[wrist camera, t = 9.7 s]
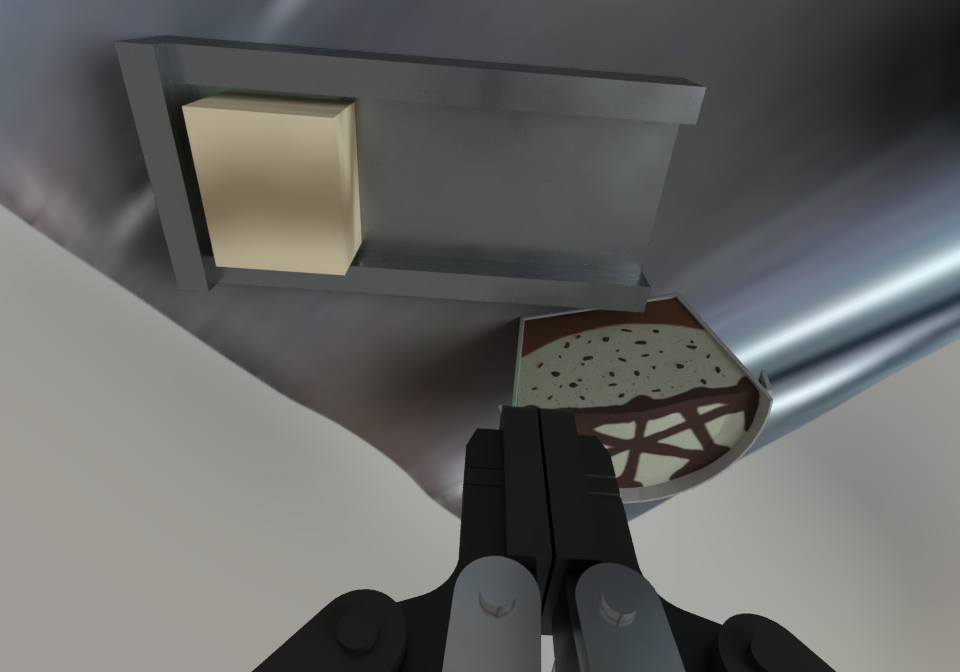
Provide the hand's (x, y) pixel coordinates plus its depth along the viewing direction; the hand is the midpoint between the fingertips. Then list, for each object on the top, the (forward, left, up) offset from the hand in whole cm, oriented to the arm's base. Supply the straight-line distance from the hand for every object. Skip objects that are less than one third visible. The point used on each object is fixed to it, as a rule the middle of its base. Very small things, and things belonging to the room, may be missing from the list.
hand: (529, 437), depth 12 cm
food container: (+10, +7, -19) cm, 23 cm away
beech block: (0, -10, -18) cm, 21 cm away
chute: (0, -4, -19) cm, 19 cm away
